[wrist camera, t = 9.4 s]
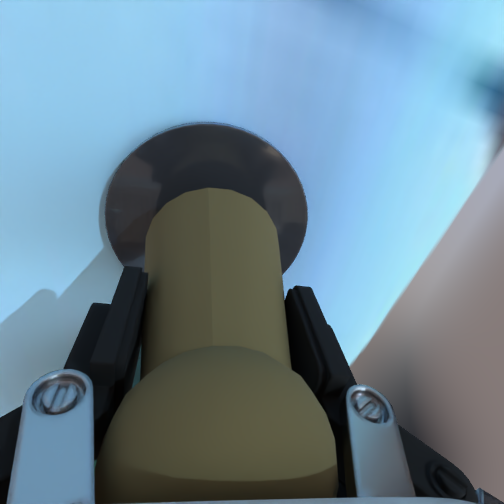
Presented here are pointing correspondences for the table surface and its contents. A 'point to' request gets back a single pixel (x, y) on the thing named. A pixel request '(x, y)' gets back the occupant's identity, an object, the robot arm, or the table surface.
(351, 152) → the table surface
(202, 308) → the cork
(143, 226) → the coaster
